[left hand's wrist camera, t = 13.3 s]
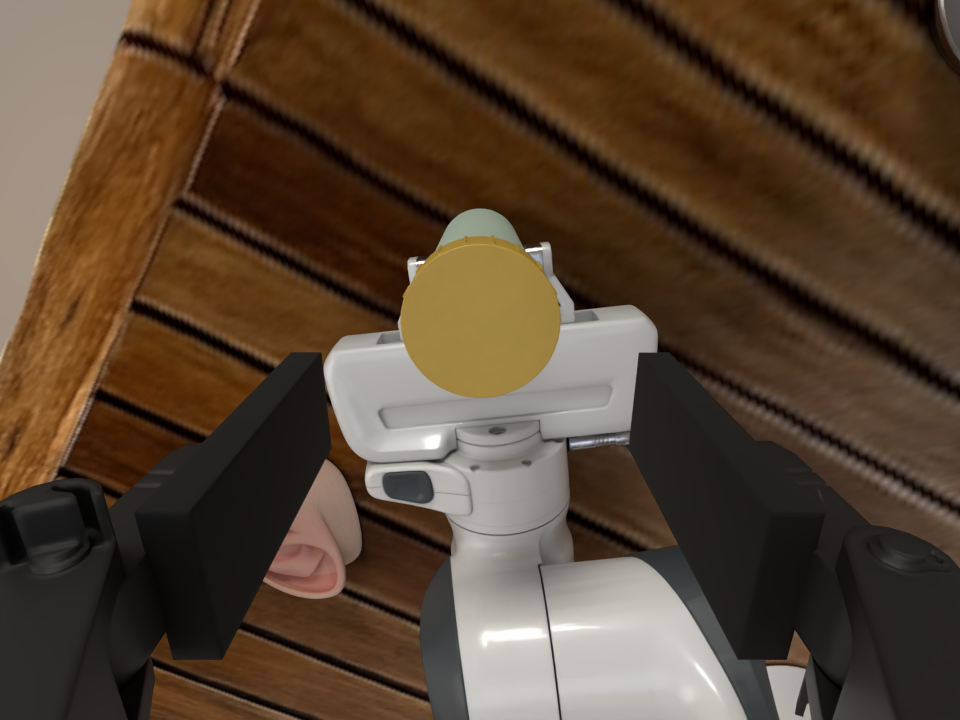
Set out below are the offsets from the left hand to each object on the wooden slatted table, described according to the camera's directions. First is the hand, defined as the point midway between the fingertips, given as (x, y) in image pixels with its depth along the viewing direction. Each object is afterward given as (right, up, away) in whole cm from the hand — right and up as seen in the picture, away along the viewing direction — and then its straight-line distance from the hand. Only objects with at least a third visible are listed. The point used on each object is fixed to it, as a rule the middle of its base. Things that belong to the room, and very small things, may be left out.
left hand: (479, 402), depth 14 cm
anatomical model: (-16, -11, +32) cm, 37 cm away
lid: (0, +3, +7) cm, 7 cm away
